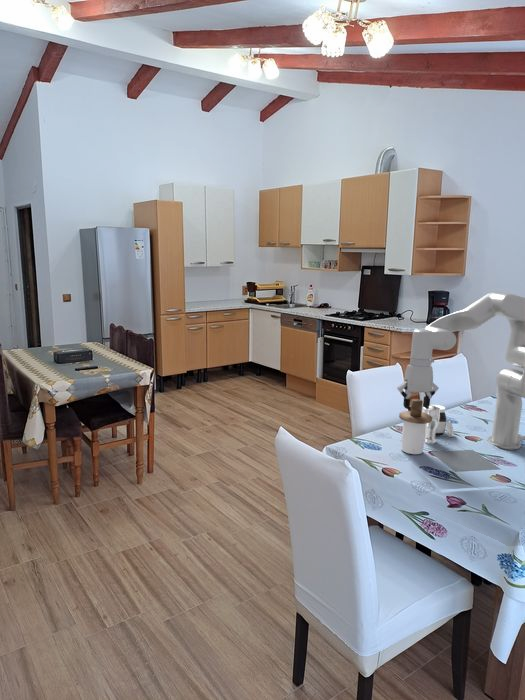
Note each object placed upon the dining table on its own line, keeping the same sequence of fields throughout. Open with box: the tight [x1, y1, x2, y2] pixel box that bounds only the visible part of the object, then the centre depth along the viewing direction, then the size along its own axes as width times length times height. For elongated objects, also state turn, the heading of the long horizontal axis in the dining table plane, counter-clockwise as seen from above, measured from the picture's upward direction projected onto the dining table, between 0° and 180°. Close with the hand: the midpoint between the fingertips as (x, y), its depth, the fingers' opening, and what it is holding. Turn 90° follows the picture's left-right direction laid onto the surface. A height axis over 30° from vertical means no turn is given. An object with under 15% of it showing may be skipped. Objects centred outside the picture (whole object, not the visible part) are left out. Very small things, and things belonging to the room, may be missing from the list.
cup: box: [401, 420, 426, 455], centre depth 198 cm, size 8×8×14 cm
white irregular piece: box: [433, 404, 454, 438], centre depth 221 cm, size 12×11×12 cm
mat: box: [430, 449, 501, 473], centre depth 193 cm, size 18×18×1 cm
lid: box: [398, 398, 432, 424], centre depth 196 cm, size 12×12×7 cm
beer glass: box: [422, 404, 440, 444], centre depth 210 cm, size 7×7×15 cm
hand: (416, 407), depth 196 cm, fingers open, 7 cm apart
